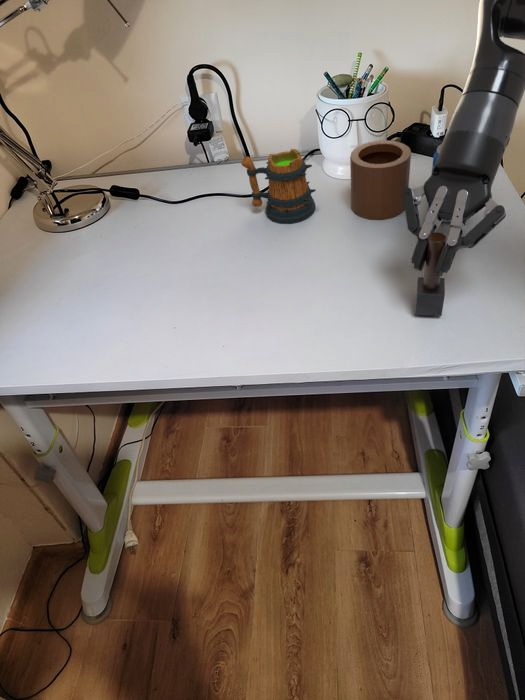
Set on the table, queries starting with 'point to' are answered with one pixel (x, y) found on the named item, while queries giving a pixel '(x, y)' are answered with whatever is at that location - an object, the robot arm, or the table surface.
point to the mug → (283, 187)
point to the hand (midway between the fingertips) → (427, 271)
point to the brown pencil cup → (379, 179)
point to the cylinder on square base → (431, 280)
